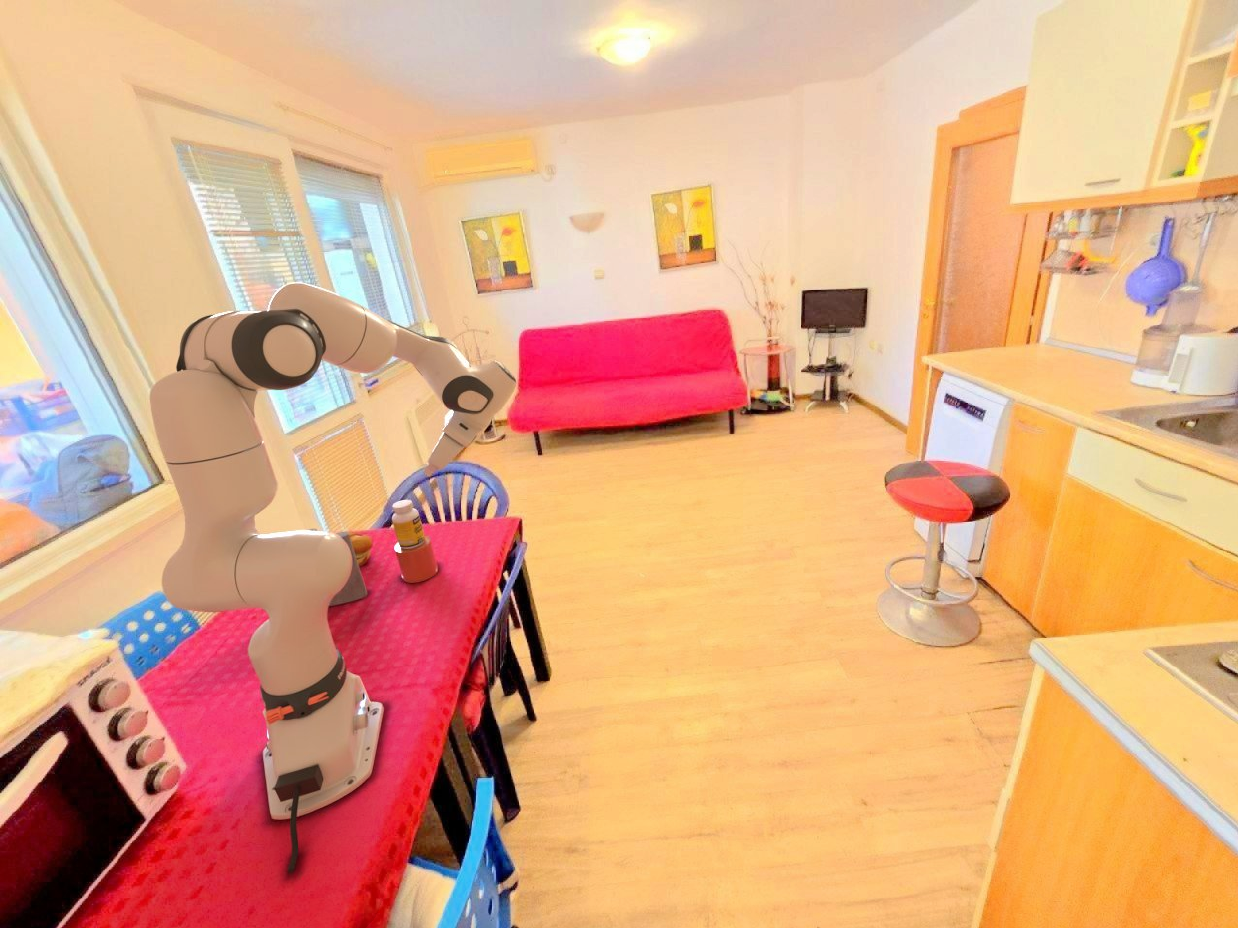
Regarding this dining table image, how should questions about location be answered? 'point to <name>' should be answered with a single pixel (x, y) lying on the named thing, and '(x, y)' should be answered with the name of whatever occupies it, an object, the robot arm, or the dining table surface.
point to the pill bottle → (407, 525)
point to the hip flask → (350, 578)
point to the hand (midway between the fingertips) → (432, 466)
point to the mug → (417, 562)
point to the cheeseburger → (361, 547)
